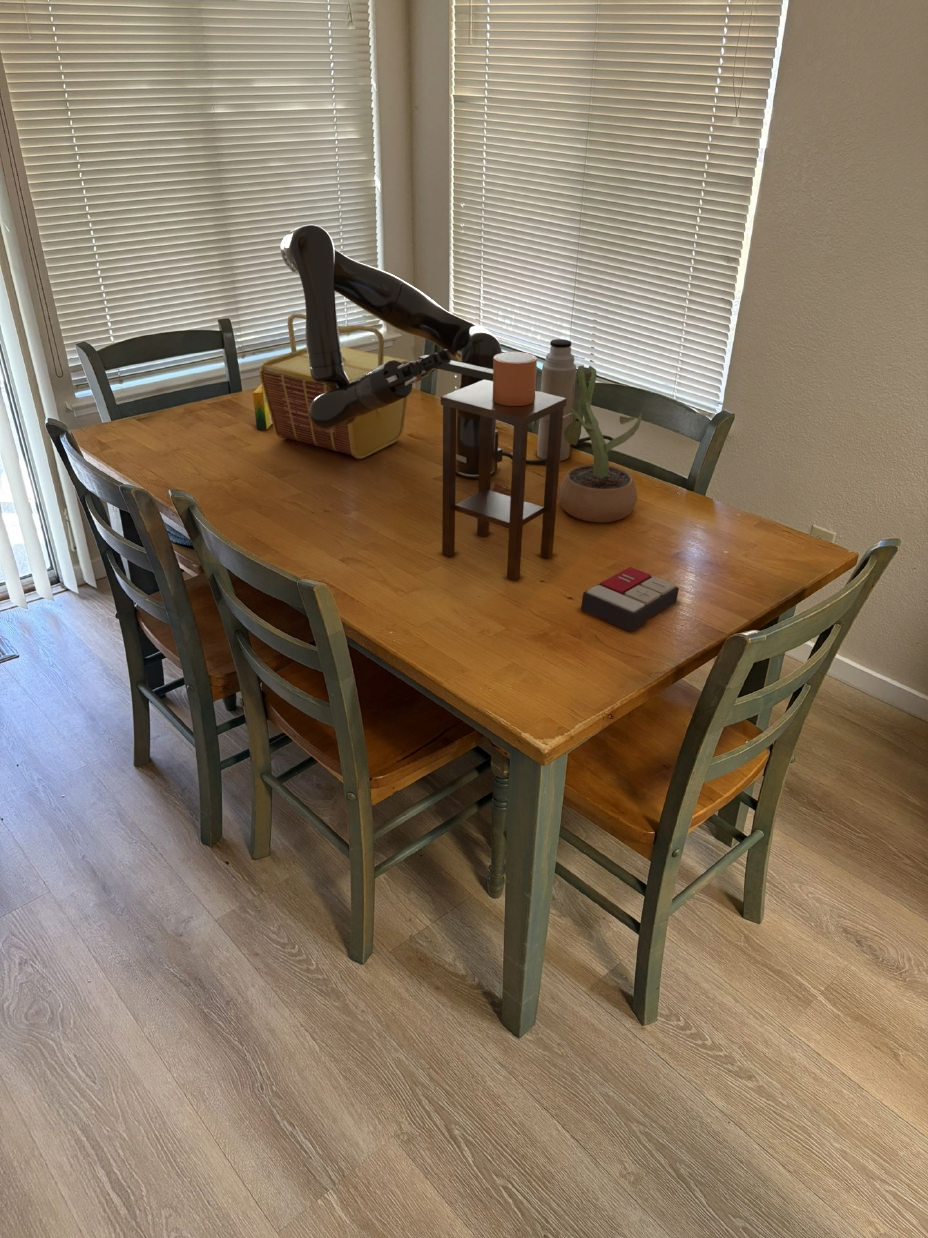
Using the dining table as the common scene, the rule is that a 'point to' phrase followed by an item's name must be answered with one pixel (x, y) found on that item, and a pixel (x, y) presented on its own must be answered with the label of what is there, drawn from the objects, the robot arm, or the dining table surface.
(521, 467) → the plant stand
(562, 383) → the thermos bottle
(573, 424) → the potted plant
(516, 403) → the dipper cup
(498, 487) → the fruit slice
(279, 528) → the dining table surface
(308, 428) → the picnic basket
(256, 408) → the crayon box
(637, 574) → the calculator
